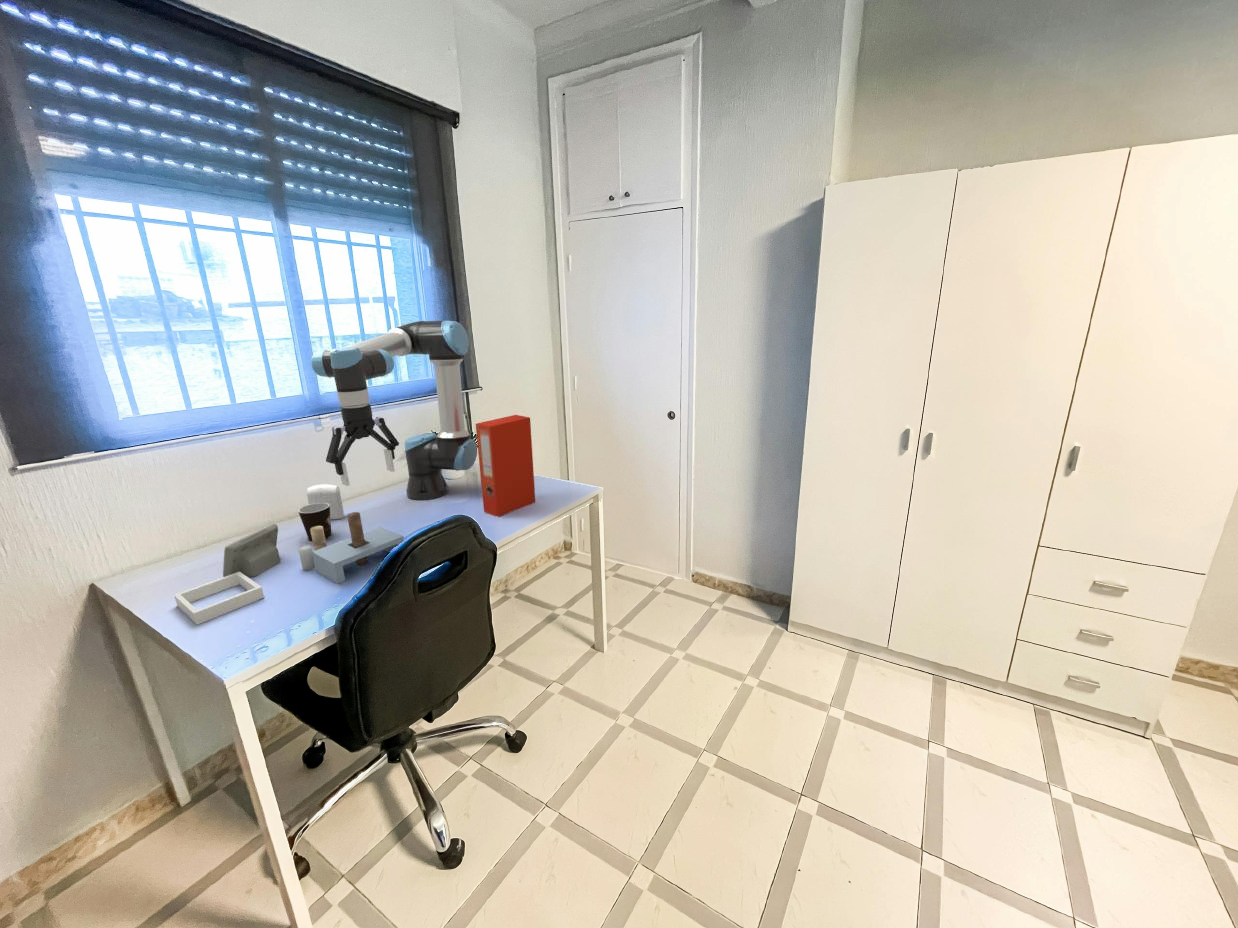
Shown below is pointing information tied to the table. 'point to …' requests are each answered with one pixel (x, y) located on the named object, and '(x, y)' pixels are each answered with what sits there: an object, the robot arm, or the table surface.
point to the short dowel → (306, 557)
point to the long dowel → (357, 534)
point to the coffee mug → (316, 518)
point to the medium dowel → (318, 537)
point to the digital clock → (252, 552)
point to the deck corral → (222, 606)
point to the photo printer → (327, 498)
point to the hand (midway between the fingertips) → (369, 477)
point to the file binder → (506, 464)
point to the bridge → (352, 552)
